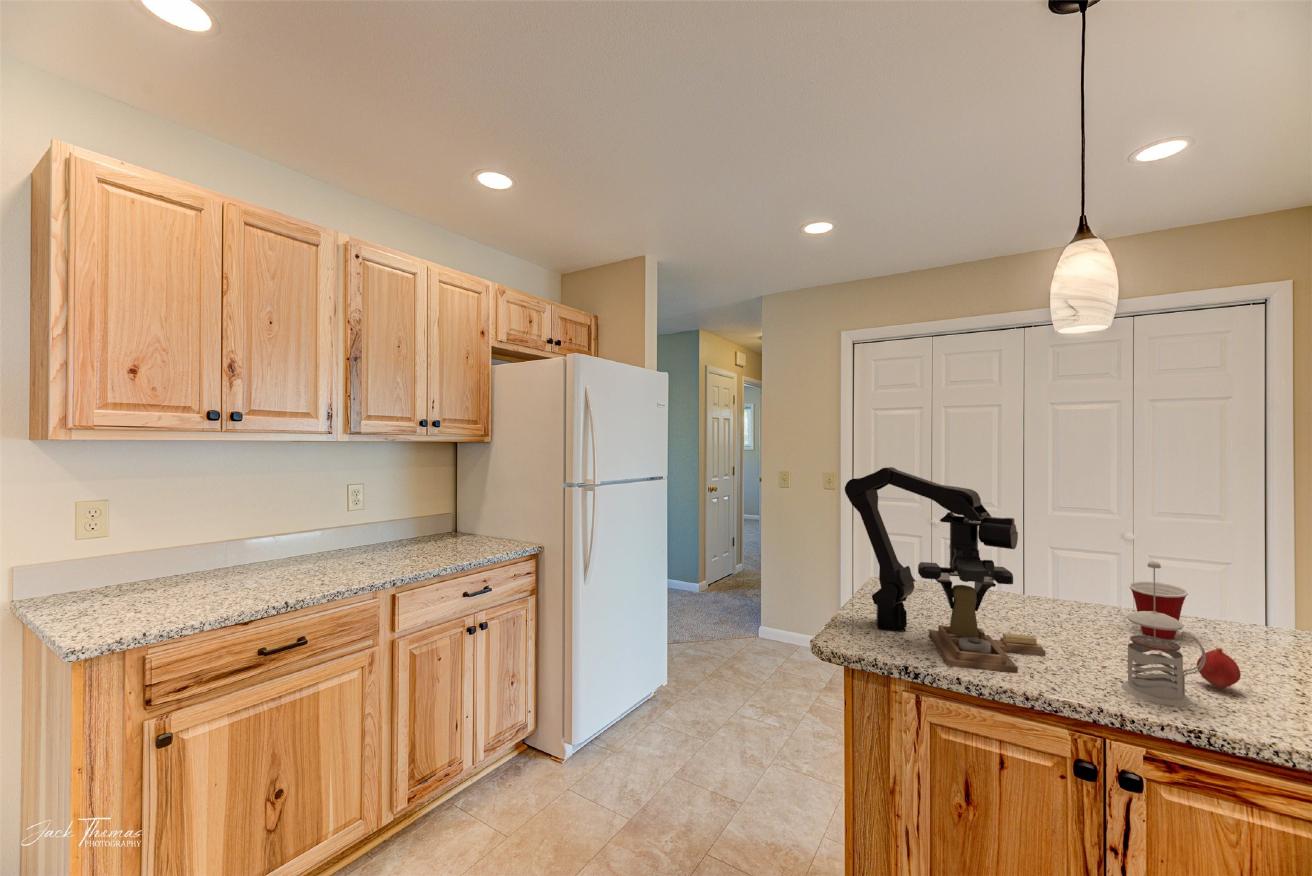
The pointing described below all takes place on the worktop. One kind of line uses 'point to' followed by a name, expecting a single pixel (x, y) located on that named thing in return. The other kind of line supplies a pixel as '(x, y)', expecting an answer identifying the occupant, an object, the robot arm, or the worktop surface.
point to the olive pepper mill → (963, 612)
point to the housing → (979, 650)
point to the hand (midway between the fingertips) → (963, 609)
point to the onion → (1219, 669)
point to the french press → (1157, 659)
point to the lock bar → (1019, 639)
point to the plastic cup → (1158, 603)
